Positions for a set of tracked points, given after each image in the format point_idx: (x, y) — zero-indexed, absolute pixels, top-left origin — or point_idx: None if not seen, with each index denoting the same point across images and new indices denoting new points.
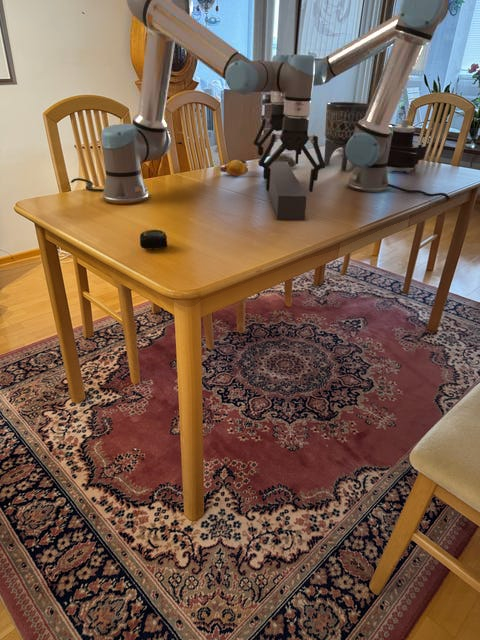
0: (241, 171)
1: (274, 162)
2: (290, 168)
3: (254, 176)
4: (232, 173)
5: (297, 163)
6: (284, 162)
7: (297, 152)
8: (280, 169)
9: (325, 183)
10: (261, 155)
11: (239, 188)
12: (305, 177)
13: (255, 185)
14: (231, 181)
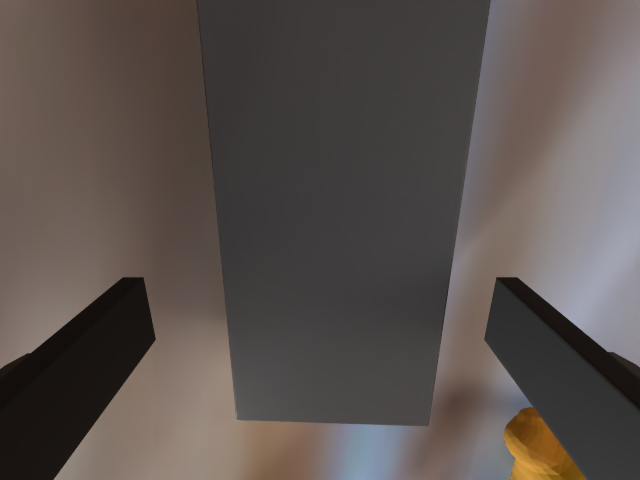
0: None
1: (353, 391)
2: (211, 121)
3: (444, 412)
4: None
5: (126, 278)
6: (260, 394)
7: (47, 355)
8: (335, 50)
9: (14, 267)
10: (581, 334)
11: (631, 103)
12: (144, 397)
13: (487, 198)
14: (626, 297)
